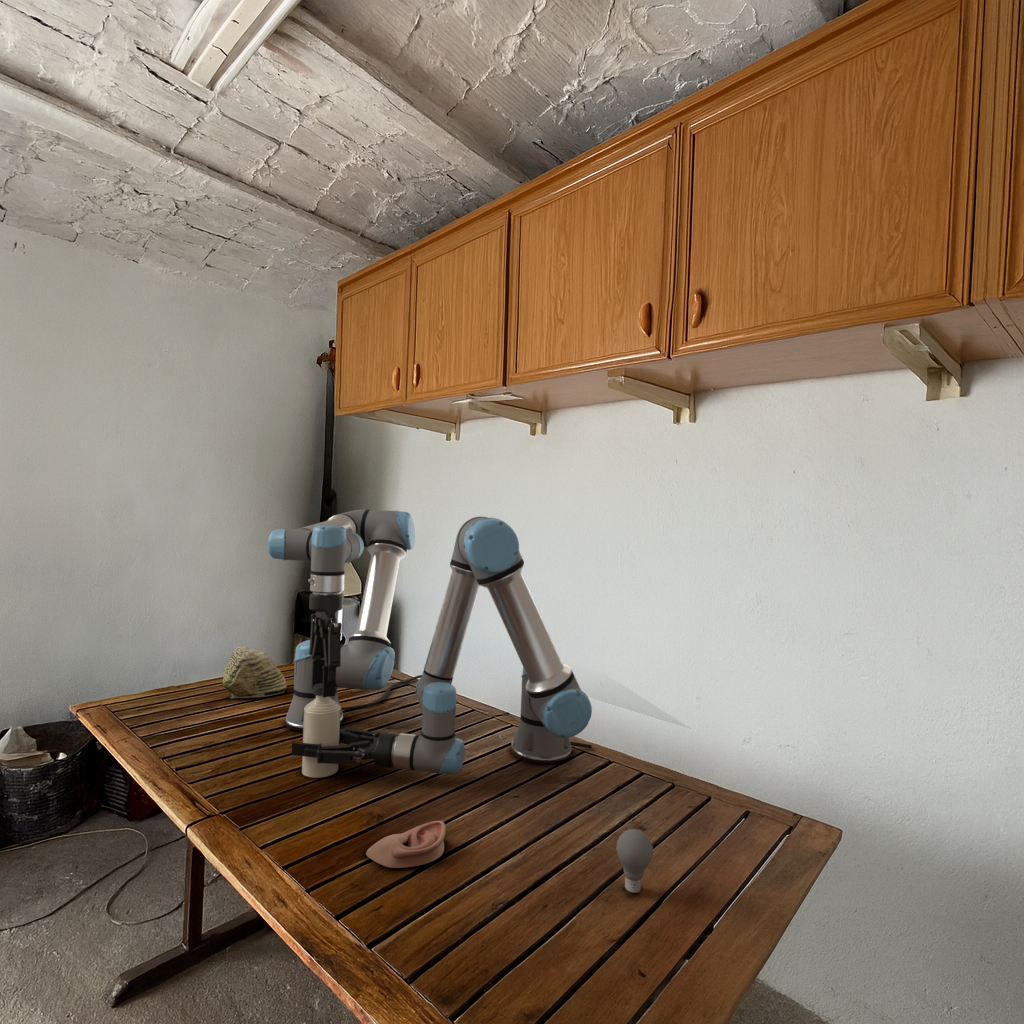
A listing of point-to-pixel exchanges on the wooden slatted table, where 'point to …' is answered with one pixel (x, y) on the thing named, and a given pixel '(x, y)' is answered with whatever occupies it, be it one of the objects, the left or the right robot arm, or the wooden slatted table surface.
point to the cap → (318, 689)
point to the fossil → (252, 674)
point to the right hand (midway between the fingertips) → (301, 741)
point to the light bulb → (634, 857)
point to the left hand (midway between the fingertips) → (323, 691)
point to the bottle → (320, 733)
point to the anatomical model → (410, 846)
